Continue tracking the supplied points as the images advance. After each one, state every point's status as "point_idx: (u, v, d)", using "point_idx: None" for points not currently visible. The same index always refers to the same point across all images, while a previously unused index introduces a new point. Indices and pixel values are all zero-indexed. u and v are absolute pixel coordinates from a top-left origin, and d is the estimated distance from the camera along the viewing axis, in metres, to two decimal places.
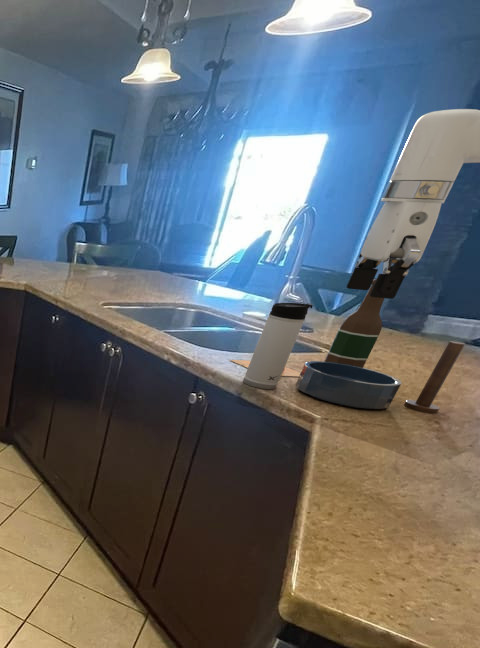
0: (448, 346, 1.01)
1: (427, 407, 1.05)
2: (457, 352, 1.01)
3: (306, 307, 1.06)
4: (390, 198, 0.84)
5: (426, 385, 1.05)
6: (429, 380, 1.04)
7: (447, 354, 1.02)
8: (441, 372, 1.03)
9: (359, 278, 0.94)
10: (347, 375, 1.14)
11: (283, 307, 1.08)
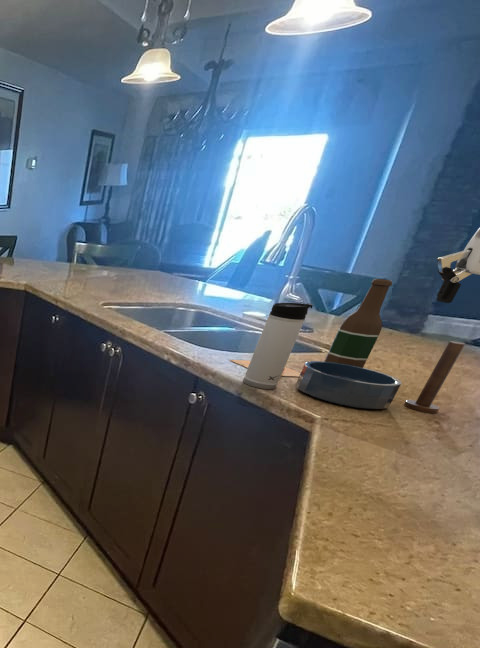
0: (448, 346, 1.01)
1: (427, 407, 1.05)
2: (457, 352, 1.01)
3: (306, 307, 1.06)
4: None
5: (426, 385, 1.05)
6: (429, 380, 1.04)
7: (447, 354, 1.02)
8: (441, 372, 1.03)
9: None
10: (347, 375, 1.14)
11: (283, 307, 1.08)
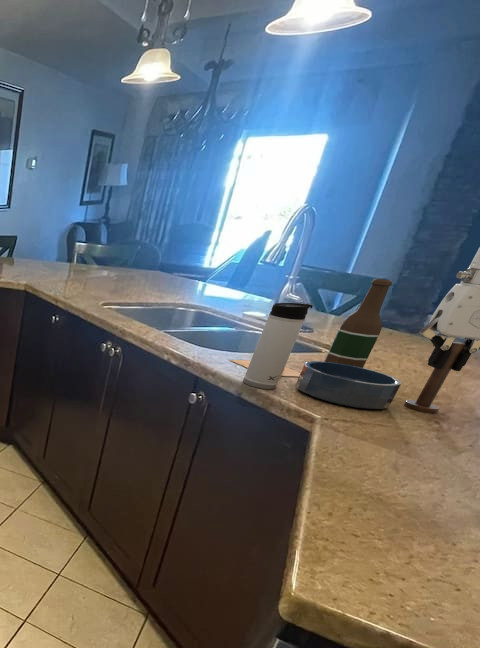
0: None
1: (427, 407, 1.05)
2: (457, 352, 1.01)
3: (306, 307, 1.06)
4: None
5: (426, 385, 1.05)
6: (429, 380, 1.04)
7: None
8: (441, 372, 1.03)
9: None
10: (347, 375, 1.14)
11: (283, 307, 1.08)
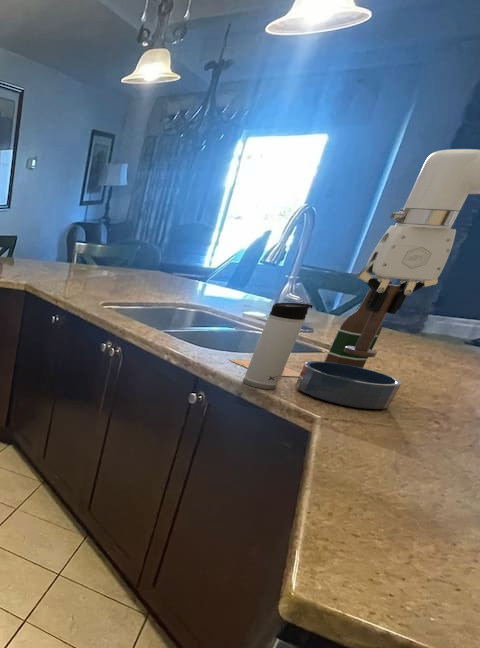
0: None
1: (364, 351, 1.05)
2: (392, 294, 1.01)
3: (306, 307, 1.06)
4: None
5: (364, 329, 1.05)
6: (367, 324, 1.05)
7: None
8: (378, 315, 1.03)
9: None
10: (347, 375, 1.14)
11: (283, 307, 1.08)
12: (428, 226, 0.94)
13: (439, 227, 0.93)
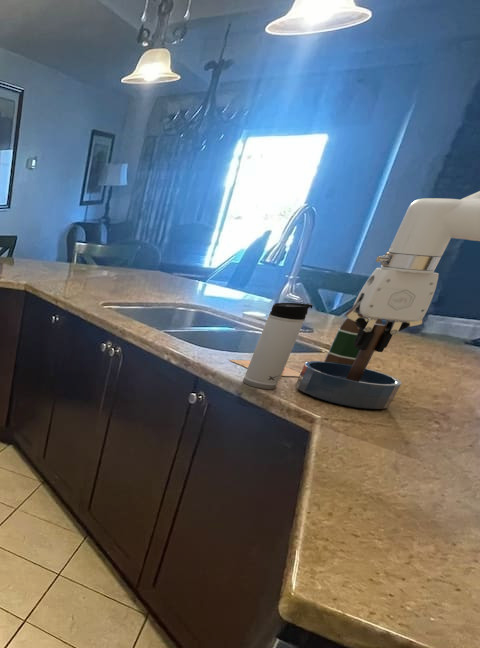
0: None
1: None
2: (379, 334, 1.05)
3: (306, 307, 1.06)
4: None
5: (353, 366, 1.09)
6: (355, 361, 1.09)
7: None
8: (365, 353, 1.07)
9: None
10: (347, 375, 1.14)
11: (283, 307, 1.08)
12: (412, 271, 0.97)
13: (422, 272, 0.97)
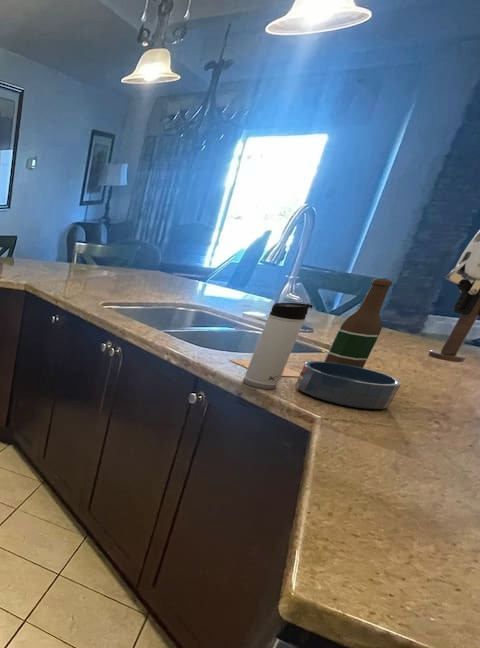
0: None
1: (453, 356, 1.00)
2: None
3: (306, 307, 1.06)
4: None
5: (452, 333, 1.01)
6: (455, 327, 1.00)
7: None
8: (468, 318, 0.98)
9: None
10: (347, 375, 1.14)
11: (283, 307, 1.08)
12: None
13: None
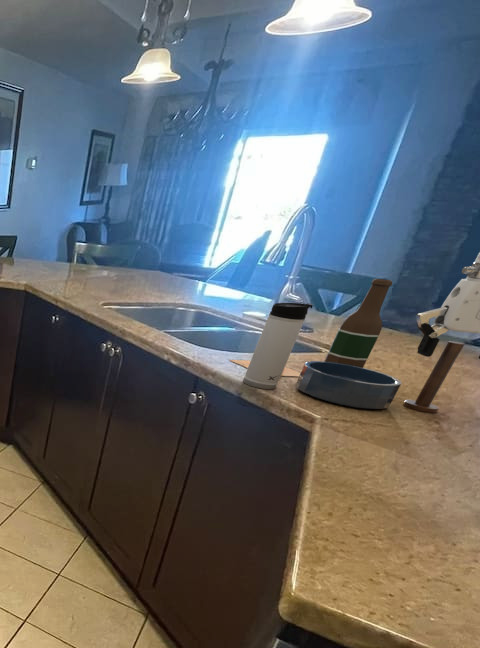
0: (447, 346, 1.01)
1: (426, 407, 1.05)
2: (456, 352, 1.01)
3: (306, 307, 1.06)
4: None
5: (425, 385, 1.05)
6: (428, 380, 1.05)
7: (446, 354, 1.02)
8: (440, 372, 1.03)
9: None
10: (347, 375, 1.14)
11: (283, 307, 1.08)
12: None
13: None
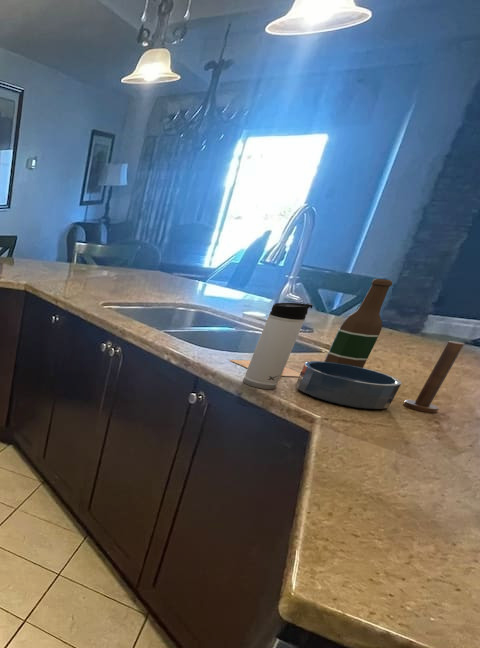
0: (447, 346, 1.01)
1: (426, 407, 1.05)
2: (456, 352, 1.01)
3: (306, 307, 1.06)
4: None
5: (425, 385, 1.05)
6: (428, 380, 1.05)
7: (446, 354, 1.02)
8: (440, 372, 1.03)
9: None
10: (347, 375, 1.14)
11: (283, 307, 1.08)
12: None
13: None
